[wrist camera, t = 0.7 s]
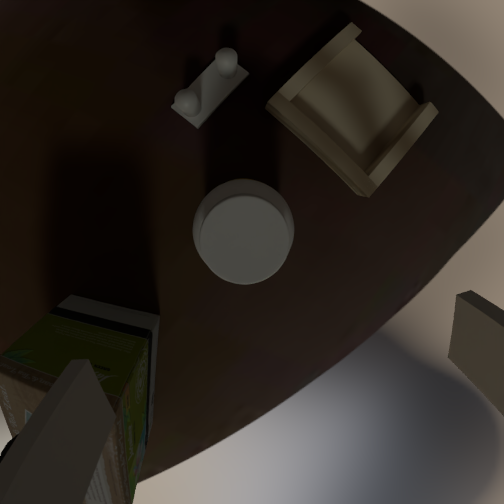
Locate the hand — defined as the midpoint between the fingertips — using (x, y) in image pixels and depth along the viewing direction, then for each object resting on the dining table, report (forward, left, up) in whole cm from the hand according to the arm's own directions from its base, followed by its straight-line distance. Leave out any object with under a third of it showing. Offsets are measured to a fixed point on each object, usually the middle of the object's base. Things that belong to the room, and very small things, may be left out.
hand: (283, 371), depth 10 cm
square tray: (-11, +10, -18) cm, 24 cm away
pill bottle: (-3, -1, -19) cm, 19 cm away
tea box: (+10, -17, -19) cm, 27 cm away
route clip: (-14, -2, -18) cm, 23 cm away
